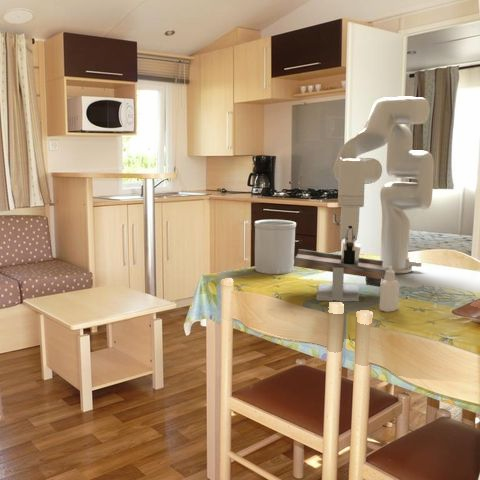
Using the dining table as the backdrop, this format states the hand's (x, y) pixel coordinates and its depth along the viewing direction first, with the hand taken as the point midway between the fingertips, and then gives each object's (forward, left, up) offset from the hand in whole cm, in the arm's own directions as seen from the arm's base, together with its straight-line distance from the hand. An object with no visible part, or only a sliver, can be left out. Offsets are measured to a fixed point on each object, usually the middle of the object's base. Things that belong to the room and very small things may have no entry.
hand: (349, 261), depth 174 cm
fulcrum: (+3, 0, -10) cm, 10 cm away
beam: (+3, 0, -5) cm, 6 cm away
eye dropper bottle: (-11, +15, -10) cm, 21 cm away
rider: (0, 0, -1) cm, 1 cm away
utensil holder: (+26, -30, -10) cm, 41 cm away
